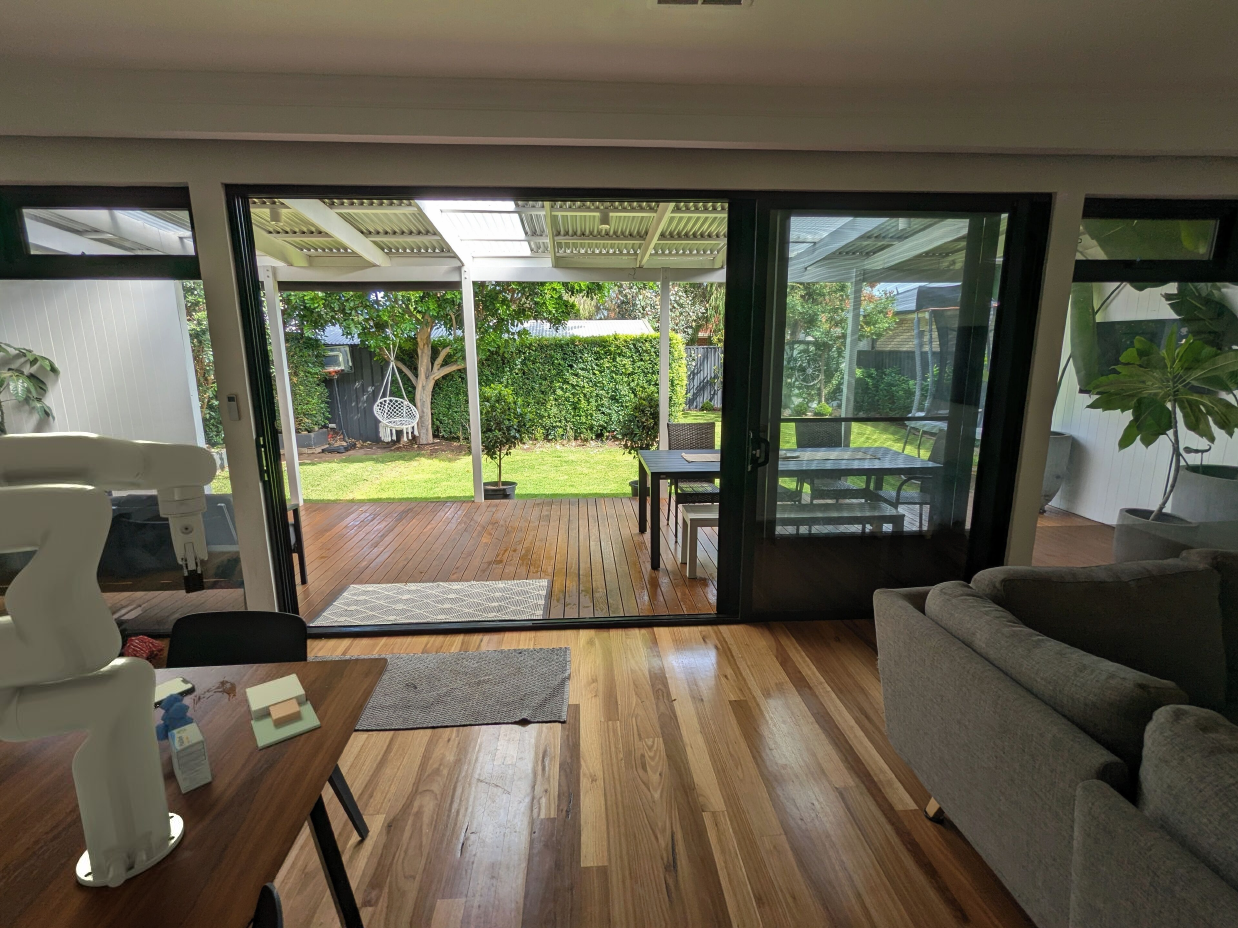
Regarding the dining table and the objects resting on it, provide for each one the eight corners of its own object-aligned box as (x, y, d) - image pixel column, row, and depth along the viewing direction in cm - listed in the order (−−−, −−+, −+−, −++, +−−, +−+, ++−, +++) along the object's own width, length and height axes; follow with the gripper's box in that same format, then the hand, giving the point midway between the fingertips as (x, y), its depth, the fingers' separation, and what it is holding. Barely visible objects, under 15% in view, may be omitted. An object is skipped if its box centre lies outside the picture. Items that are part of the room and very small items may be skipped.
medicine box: (212, 781, 99) (206, 738, 98) (181, 795, 96) (174, 751, 95) (203, 761, 105) (197, 720, 103) (173, 773, 101) (167, 731, 100)
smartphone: (109, 729, 116) (197, 691, 129) (107, 722, 116) (196, 685, 129) (95, 716, 120) (182, 681, 134) (94, 709, 120) (181, 675, 134)
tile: (301, 716, 117) (300, 709, 117) (274, 726, 114) (273, 719, 114) (295, 704, 122) (294, 697, 122) (269, 713, 119) (268, 706, 118)
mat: (320, 725, 115) (320, 723, 115) (259, 749, 108) (258, 746, 108) (309, 703, 123) (308, 700, 123) (251, 723, 116) (250, 720, 116)
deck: (306, 702, 123) (305, 692, 123) (253, 721, 117) (252, 710, 116) (296, 682, 131) (295, 673, 131) (246, 698, 125) (245, 688, 125)
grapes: (146, 752, 107) (136, 696, 105) (187, 734, 113) (179, 681, 111) (164, 777, 100) (154, 718, 99) (208, 756, 106) (199, 700, 104)
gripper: (208, 509, 108) (220, 596, 111) (204, 497, 119) (214, 577, 122) (159, 515, 103) (172, 606, 106) (159, 502, 115) (171, 585, 117)
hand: (195, 590), depth 114 cm, fingers closed
